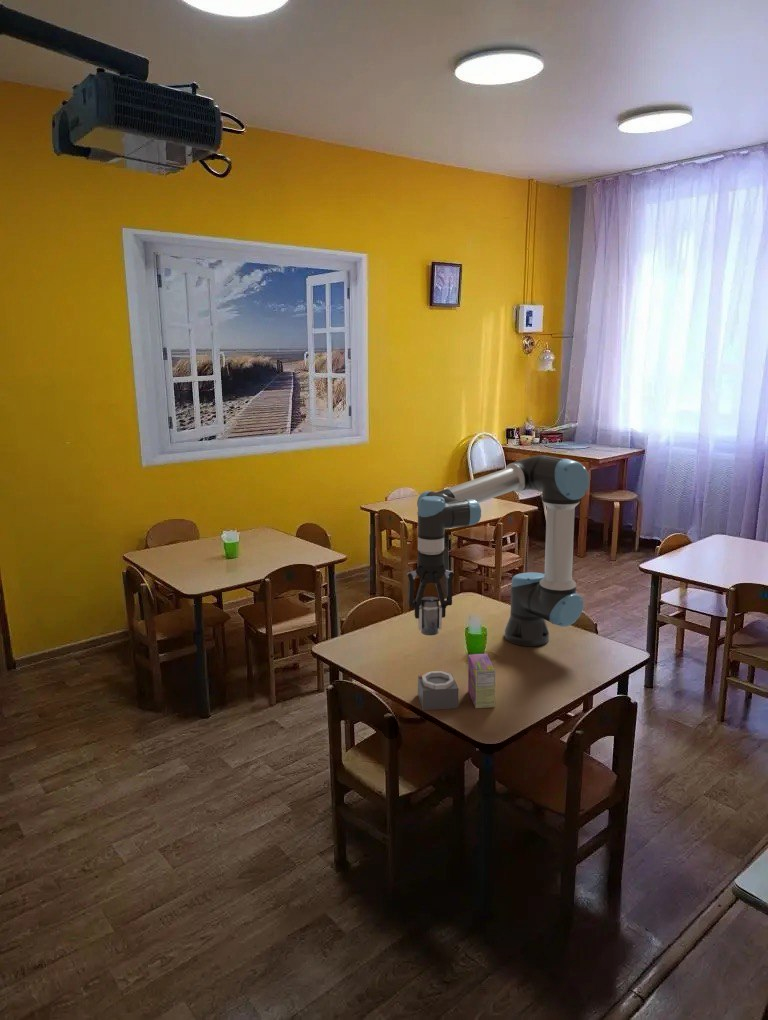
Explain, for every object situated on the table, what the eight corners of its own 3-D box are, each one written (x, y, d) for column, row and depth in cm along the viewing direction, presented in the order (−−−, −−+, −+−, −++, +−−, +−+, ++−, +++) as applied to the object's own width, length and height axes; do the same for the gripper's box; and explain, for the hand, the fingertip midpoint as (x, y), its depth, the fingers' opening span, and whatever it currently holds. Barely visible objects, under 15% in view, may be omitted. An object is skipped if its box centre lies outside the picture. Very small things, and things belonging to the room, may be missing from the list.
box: (467, 691, 202) (468, 654, 200) (486, 690, 203) (487, 653, 200) (474, 709, 192) (475, 670, 190) (494, 708, 193) (496, 669, 190)
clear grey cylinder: (437, 628, 203) (437, 596, 201) (439, 635, 198) (440, 602, 196) (419, 629, 202) (420, 596, 200) (422, 635, 197) (422, 602, 195)
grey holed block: (451, 692, 201) (451, 669, 200) (458, 708, 193) (458, 684, 191) (417, 694, 200) (417, 672, 199) (423, 710, 192) (423, 686, 190)
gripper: (459, 546, 199) (458, 622, 204) (397, 548, 198) (397, 624, 203) (464, 553, 192) (463, 632, 197) (400, 555, 190) (400, 634, 195)
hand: (429, 627), depth 200 cm, fingers closed on clear grey cylinder, 5 cm apart
